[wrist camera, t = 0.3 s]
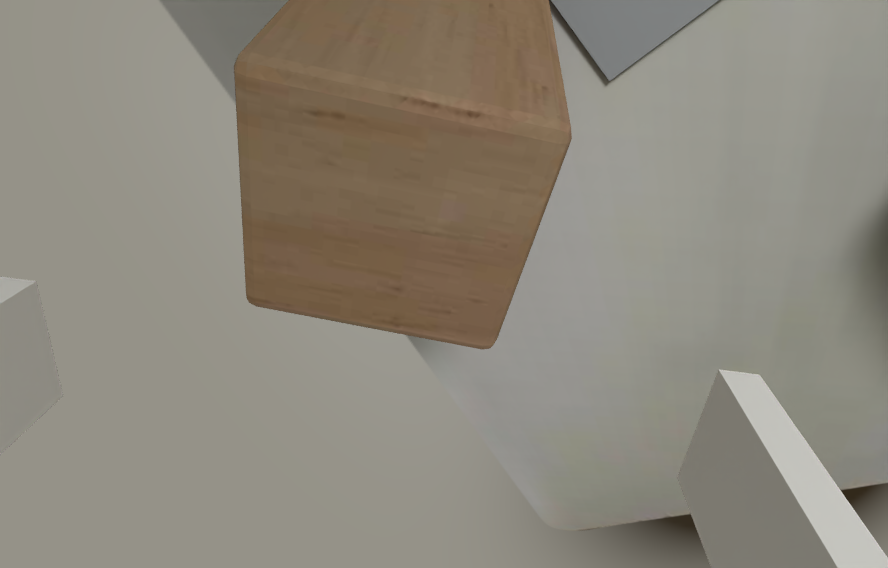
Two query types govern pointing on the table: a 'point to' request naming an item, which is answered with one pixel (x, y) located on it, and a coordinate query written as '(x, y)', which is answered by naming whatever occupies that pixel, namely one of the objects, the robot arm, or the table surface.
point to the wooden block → (398, 160)
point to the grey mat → (626, 27)
